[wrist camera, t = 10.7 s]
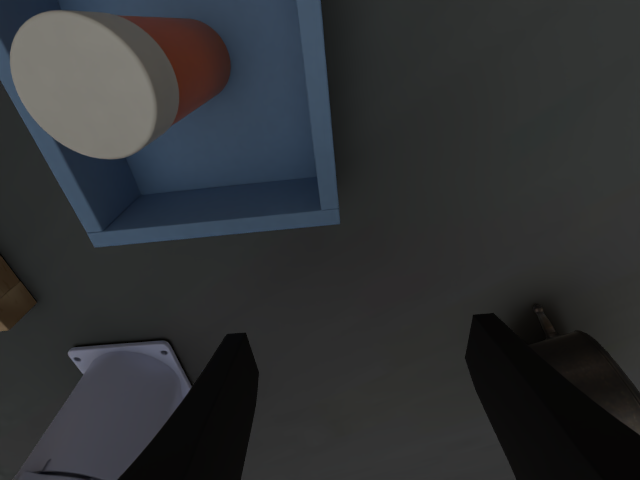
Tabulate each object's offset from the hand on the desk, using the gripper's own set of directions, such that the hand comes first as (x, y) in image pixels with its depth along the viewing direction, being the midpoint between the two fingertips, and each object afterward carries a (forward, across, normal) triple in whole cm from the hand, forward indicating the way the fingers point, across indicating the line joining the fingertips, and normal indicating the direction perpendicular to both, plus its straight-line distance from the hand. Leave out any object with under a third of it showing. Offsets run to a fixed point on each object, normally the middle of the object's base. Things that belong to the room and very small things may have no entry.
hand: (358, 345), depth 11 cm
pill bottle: (+10, +6, -8) cm, 14 cm away
